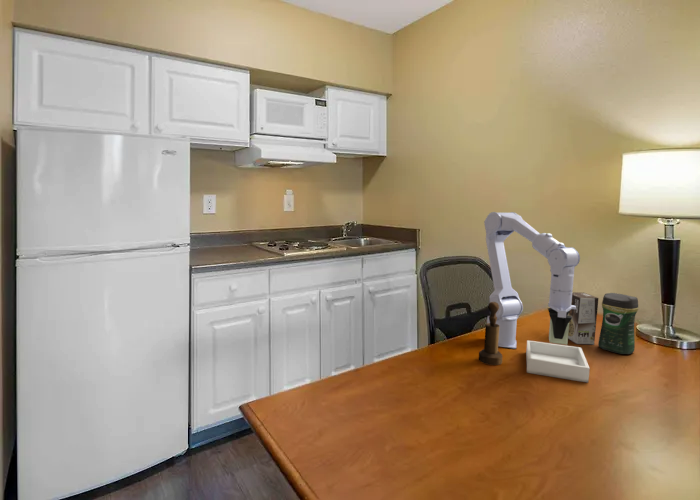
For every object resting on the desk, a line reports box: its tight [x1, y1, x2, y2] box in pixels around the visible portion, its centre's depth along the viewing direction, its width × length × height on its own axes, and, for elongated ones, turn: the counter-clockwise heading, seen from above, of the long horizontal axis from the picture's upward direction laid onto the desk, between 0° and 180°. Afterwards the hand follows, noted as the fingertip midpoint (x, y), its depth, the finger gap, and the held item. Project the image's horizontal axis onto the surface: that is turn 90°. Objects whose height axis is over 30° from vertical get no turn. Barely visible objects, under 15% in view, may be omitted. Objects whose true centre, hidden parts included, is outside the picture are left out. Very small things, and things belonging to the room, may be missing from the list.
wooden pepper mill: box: [478, 301, 503, 366], centre depth 122 cm, size 7×6×18 cm
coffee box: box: [567, 291, 600, 345], centre depth 143 cm, size 9×6×16 cm
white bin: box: [525, 339, 591, 383], centre depth 120 cm, size 15×17×4 cm
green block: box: [548, 318, 569, 346], centre depth 119 cm, size 4×4×6 cm
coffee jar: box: [598, 292, 639, 355], centre depth 133 cm, size 10×8×19 cm
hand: (557, 335), depth 119 cm, fingers closed on green block, 4 cm apart
